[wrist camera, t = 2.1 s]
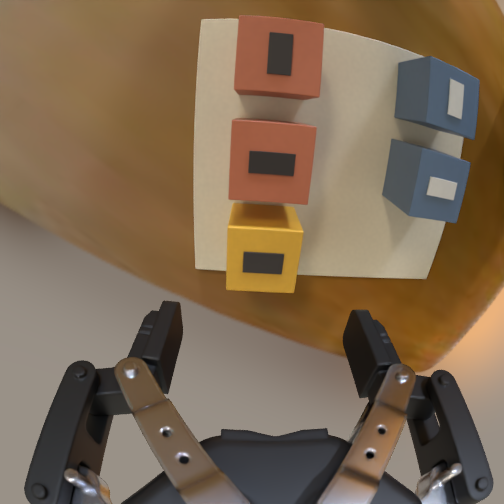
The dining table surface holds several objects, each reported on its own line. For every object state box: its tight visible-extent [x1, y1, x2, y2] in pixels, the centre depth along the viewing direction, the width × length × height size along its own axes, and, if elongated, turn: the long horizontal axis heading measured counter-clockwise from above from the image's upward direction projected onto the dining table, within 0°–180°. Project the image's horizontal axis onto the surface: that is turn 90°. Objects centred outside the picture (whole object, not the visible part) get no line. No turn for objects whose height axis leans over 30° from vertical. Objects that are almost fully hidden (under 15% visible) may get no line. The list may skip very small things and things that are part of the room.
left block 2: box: [228, 118, 317, 205], centre depth 16 cm, size 4×4×4 cm
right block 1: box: [394, 56, 479, 140], centre depth 14 cm, size 4×4×4 cm
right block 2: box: [382, 139, 471, 223], centre depth 17 cm, size 4×4×4 cm
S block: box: [226, 203, 304, 293], centre depth 19 cm, size 4×4×4 cm
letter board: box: [194, 19, 464, 279], centre depth 19 cm, size 19×21×1 cm
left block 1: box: [234, 15, 324, 100], centre depth 14 cm, size 4×4×4 cm
